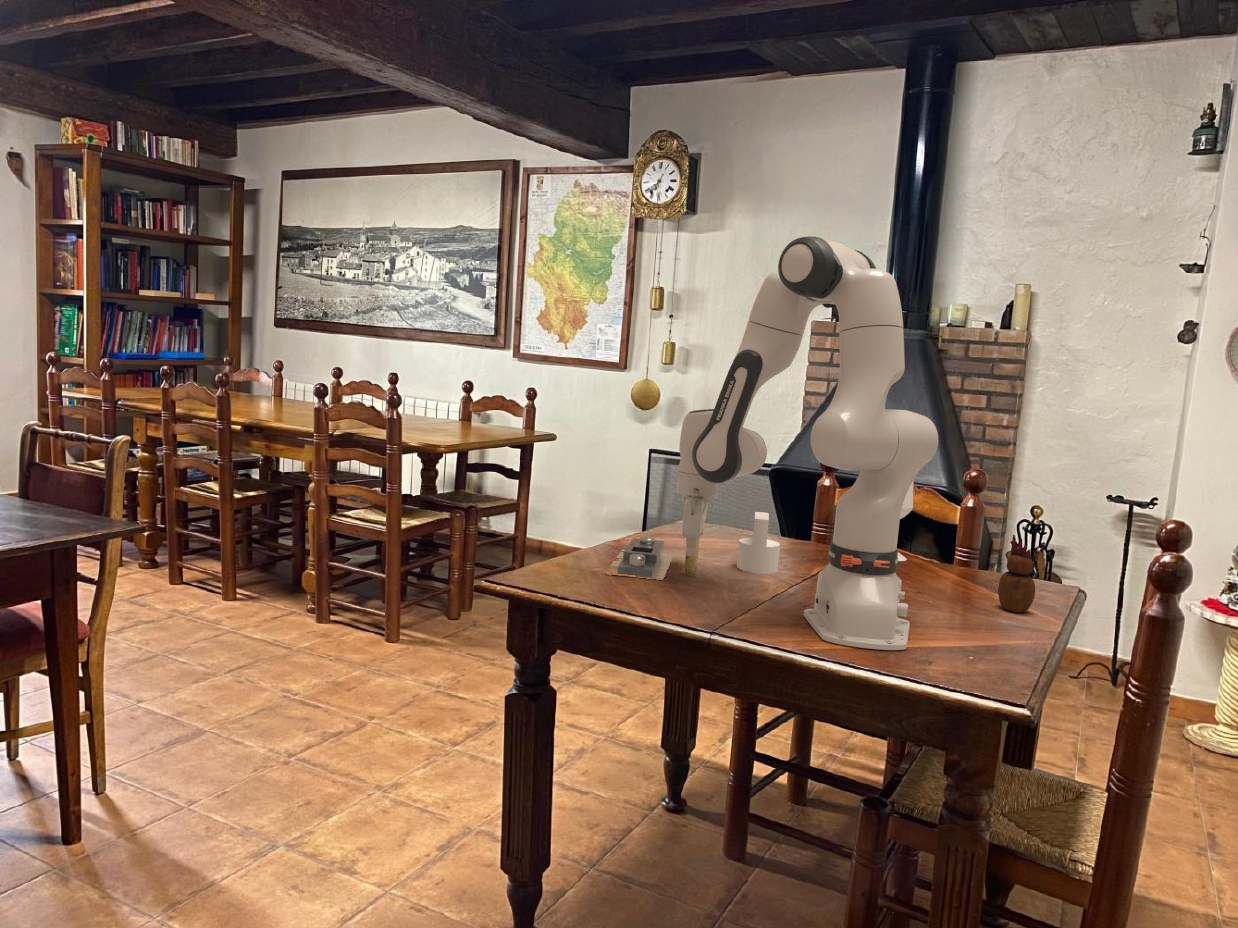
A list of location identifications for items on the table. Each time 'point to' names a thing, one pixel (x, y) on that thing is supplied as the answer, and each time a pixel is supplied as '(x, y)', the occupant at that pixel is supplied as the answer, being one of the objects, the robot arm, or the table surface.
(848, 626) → the robot arm
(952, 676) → the table surface
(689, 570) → the brass pin
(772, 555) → the cylinder with rectangular tab
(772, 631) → the table surface
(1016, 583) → the wooden figurine
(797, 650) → the table surface
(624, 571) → the two-knob base plate
